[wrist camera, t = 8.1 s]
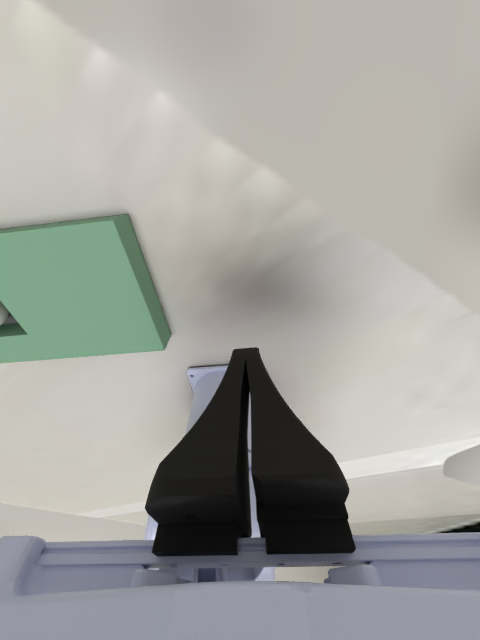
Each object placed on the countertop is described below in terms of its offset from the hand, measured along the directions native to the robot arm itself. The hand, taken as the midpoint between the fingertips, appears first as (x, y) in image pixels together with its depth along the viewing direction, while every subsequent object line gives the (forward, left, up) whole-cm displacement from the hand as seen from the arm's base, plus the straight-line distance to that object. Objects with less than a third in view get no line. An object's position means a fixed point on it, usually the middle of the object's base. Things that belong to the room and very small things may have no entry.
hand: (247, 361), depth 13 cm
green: (+1, +18, -10) cm, 21 cm away
